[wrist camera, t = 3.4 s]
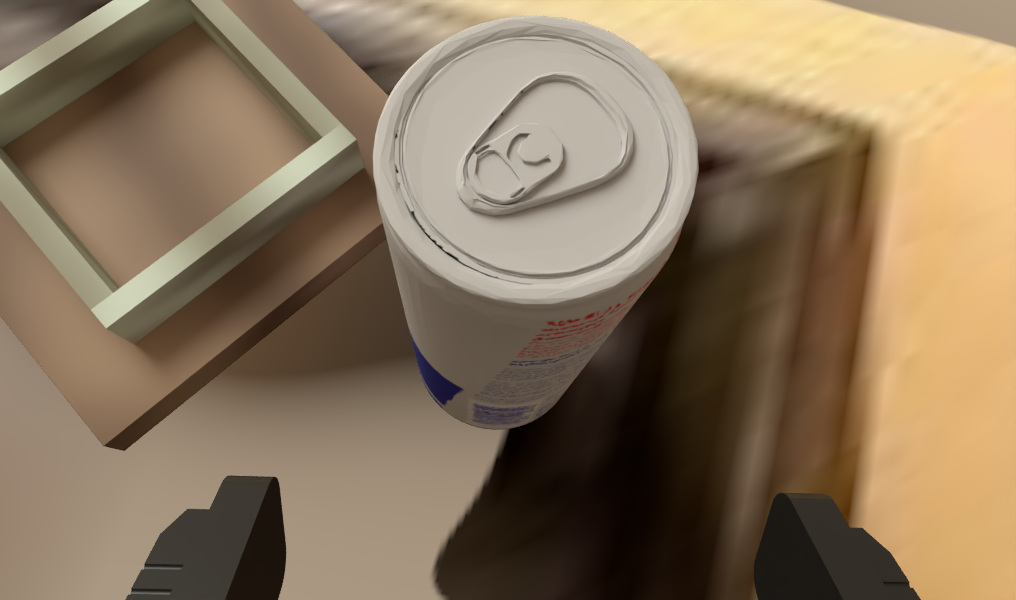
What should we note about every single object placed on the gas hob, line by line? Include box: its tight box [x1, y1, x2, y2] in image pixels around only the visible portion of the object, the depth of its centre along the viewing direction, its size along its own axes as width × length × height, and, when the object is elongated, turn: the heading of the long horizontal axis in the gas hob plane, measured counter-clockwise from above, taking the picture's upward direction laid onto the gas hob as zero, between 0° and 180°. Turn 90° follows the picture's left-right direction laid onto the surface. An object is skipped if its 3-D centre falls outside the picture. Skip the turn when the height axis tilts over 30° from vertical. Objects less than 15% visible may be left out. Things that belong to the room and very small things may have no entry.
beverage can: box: [373, 16, 698, 430], centre depth 19 cm, size 6×6×15 cm
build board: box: [0, 0, 389, 451], centre depth 26 cm, size 15×12×4 cm
